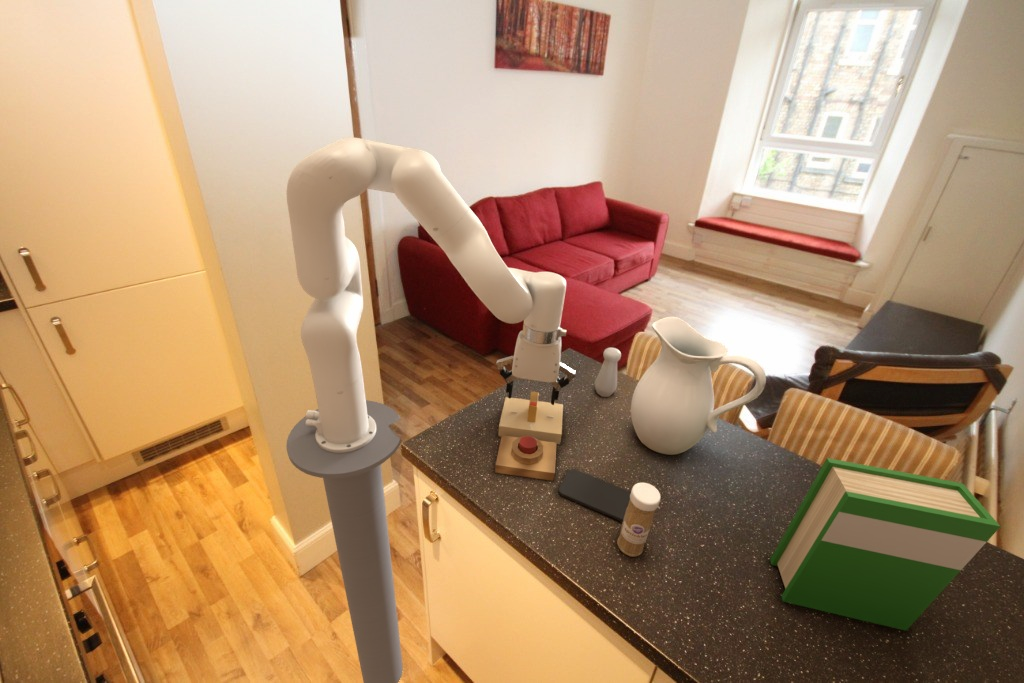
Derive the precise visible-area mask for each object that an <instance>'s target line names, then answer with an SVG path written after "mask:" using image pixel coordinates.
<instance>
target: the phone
mask: <svg viewBox="0 0 1024 683" xmlns="http://www.w3.org/2000/svg"><path fill="white" fill-rule="evenodd" d="M558 494H559V495H560V496H562V497H564V498H566V499H568V500H570V501H573V502H575V503H577V504H579V505H582V506H584V507H587V508H589V509H592V510H594V511H596V512H598V513H600V514H603V515H605V516H607V517H610V518H613V519H615V520H617V521H619V522H621V523H623V520H624V516H625V513H626V509H627V507H628V504H629V501H630V494H631V491H630V490H627V489H625V488H623V487H620V486H618V485H614V484H613V483H609V482H607V481H604V480H603V479H601V478H600V479H599V478H598V477H595V476H592V475H590V474H587V473H585V472H582V471H579V470H577V469H574V468H572V469H569V470H568V471H567V472H566V474H565V476H564V478H563V480H562V481H561V483H560V485H559V487H558Z"/></svg>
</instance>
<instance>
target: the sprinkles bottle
mask: <svg viewBox="0 0 1024 683" xmlns="http://www.w3.org/2000/svg"><path fill="white" fill-rule="evenodd" d="M630 492H631V494H630V501H629V504H628V507H627V509H626V513H625V516H624V520H623V522H621V523H622V524H621V528H620V532H619V536H618V538H617V541H616V544H617V547H618V548H619V550H620V551H621V553H623V554H624V555H626V556H628V557H633V558H634V557H639V556H640V555H642V553H643V552H644V546H645V543H646V541H647V539H648V536H649V534H650V530H651V528H652V524H653V520H654V516H655V513H656V511H657V509H658V508H659V505H660V502H661V496H662V495H661V492H660V491H659V490H658V488H657V487H655V486H654V485H652V484H651V483H649V482H637V483H635V484H634V485H633V486H632V487H631V491H630Z"/></svg>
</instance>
